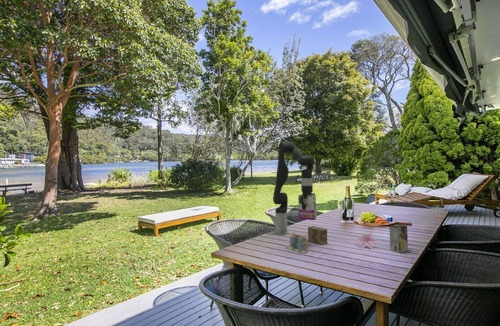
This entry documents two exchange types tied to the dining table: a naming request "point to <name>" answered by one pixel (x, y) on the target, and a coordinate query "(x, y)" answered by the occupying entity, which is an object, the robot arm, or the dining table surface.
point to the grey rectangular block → (298, 243)
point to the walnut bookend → (317, 235)
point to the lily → (366, 240)
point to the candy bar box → (308, 208)
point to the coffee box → (398, 238)
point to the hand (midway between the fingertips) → (307, 209)
